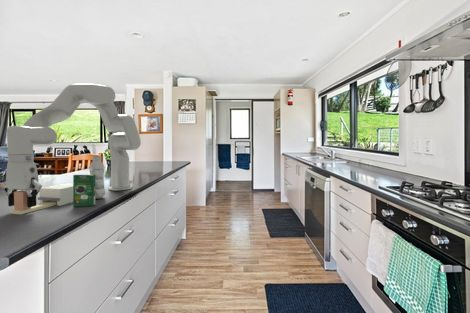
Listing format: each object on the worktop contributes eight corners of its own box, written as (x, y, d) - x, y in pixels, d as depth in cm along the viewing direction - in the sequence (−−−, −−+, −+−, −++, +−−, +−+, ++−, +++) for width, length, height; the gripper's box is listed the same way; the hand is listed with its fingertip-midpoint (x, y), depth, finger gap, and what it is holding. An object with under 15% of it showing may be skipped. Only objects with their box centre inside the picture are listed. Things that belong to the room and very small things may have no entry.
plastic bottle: (86, 199, 126) (85, 156, 125) (97, 196, 132) (96, 155, 131) (97, 200, 124) (96, 156, 123) (108, 197, 130) (107, 155, 129)
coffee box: (96, 204, 116) (95, 174, 115) (94, 206, 113) (93, 174, 112) (75, 205, 114) (74, 174, 114) (73, 207, 111) (72, 175, 111)
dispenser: (66, 198, 129) (65, 183, 129) (84, 198, 127) (84, 184, 127) (38, 205, 115) (37, 188, 114) (58, 206, 113) (58, 189, 112)
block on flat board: (54, 202, 119) (53, 184, 119) (63, 203, 119) (62, 184, 118) (11, 213, 101) (10, 192, 100) (21, 214, 100) (20, 192, 99)
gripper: (49, 159, 104) (50, 205, 105) (11, 158, 107) (13, 202, 108) (31, 160, 96) (33, 209, 97) (-9, 159, 100) (-7, 207, 100)
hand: (22, 205), depth 103 cm, fingers open, 7 cm apart
